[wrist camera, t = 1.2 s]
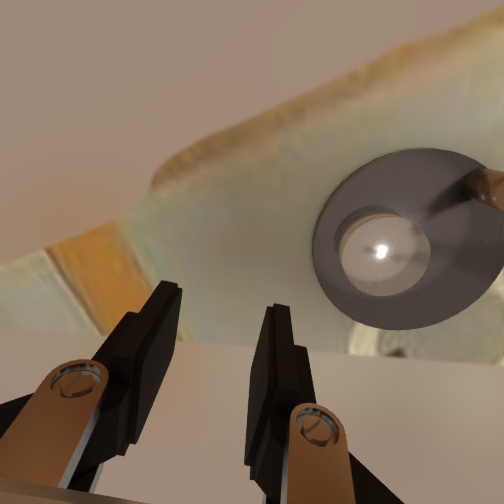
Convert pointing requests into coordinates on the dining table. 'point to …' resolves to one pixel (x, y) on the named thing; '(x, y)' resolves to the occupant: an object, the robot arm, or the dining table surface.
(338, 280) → the turntable
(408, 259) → the cover
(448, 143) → the dining table surface
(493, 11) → the dining table surface
